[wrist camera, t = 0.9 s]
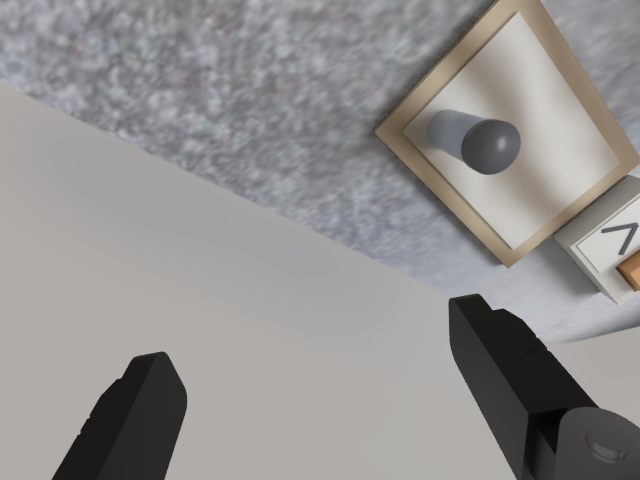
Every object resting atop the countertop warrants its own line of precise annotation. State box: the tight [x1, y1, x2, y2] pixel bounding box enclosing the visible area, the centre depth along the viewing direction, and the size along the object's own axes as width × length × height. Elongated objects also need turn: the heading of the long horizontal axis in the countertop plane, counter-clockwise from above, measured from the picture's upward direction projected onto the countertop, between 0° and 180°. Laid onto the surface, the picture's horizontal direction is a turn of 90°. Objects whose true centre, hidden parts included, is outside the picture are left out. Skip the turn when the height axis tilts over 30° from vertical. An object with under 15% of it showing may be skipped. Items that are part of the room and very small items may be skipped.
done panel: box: [553, 175, 640, 306], centre depth 34 cm, size 8×10×3 cm
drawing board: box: [373, 0, 640, 268], centre depth 30 cm, size 14×19×1 cm
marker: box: [427, 109, 521, 175], centre depth 25 cm, size 3×3×8 cm
